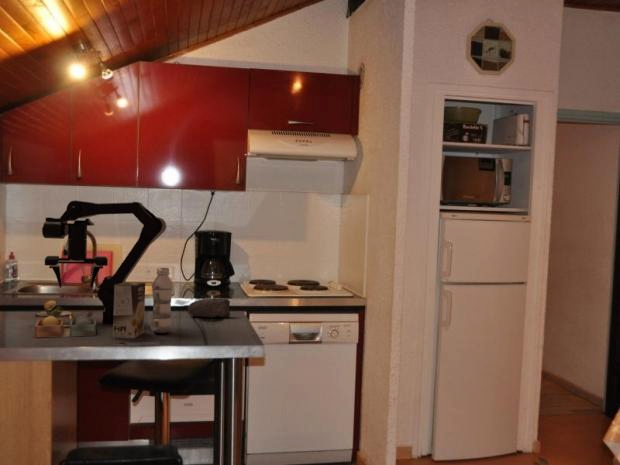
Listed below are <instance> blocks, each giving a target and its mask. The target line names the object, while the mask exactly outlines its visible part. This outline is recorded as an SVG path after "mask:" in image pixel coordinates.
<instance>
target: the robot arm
mask: <svg viewBox="0 0 620 465" xmlns="http://www.w3.org/2000/svg"><path fill="white" fill-rule="evenodd" d="M130 214H131V215H133V216H134V217H135V218H136V219H137V220H138V221H139V222H140V223H141V224H142V225H143V226H142V228H141V231H140V234H139V237H138V239H137V241H136V242H135V243H134V245H133V247H132V248H130V249H131V250H130V251H129V252H128V253H127V255H126V257H125V258H124V260H123V261H122V263H121V264H120V265H119V267H118V268H117V270H116V271H115V273H114V274H113V275H107V276H104V278H103V280H102V281H101V284H100V285H98V286H97V289H98V290H97V292H96V295H97V298H98V300H99V301H100V302H101V303H102V305H103V306H102V307H103V308H104V310H102V319H101V323H102V324H105V325H113V312H114V285H115V284H120V283H125V282H127V279H128V277H129V276H130V275H131V273H132V271H134V269H135V267H136V266H137V265H138V263H139V262H140V261H141V259H142V257H143V256H144V254H145V253H146V252H147V251H148V249H149V248H150V246H151V245H152V244H153V243H154V242H155V241H156V240H157V239H158V238H160V237H161V235H162V234H164V233H165V231H166V229H167V223H166V221H165V220H164V219H163V218H161V217H158V216H156V215H155V214H154V213H152V212H151V211H150V210H149V209H148V208H147V207H145V206H144V205H143V203H141V202H140V201H139V202H138V201H131V202H104V203H103V202H101V203H98V202H91V201H83V200H75V199H73V200H70V202H69V203H68V204H67V206H66V209H65V211H64V212H63V213H62V214H61V216H60V217H57V218H56V217H45V221H44V222H43V225H42V227H41V230H42V231H41V232H42V237H43V238H44V239H56V240H57V239H59V240H62V239H65V237H66V236H67V245H63V251H62V252H63V253H62V254H63V257H60V255H47V256H45V257H44V266H48V269H52V270H53V273H54V274H55V277H56V280H57V282H58V286H59V288H60V289H62V287H63V286H62V274H61V265H60V264H62V265H63V264H69V265H71V264H72V265H73V264H75V265H76V264H77V265H78V264H79V265H81V264H84V265H86V264H87V265H88V264H91V265H93V268H92V274H91V280H90V289H91V288H93V287H94V286H93V285H94V284H95V281H96V277H97V275H98V274H99V271H100V270H101V269H104V267H105V266H107V267H108V265H109V264H108V263H109V262H108V257H107V256H106V255H105V256H104V255H103V256H101V255H99V256H96V255H94V258H93V257H92V258H91V257H89V258H88V255H87V253H88V252H87V250H88V246H87V245H88V226H91V227H93V226H94V225H95V223H94V222H92V220H91V219H90V218H91V217H96V216H100V215H130ZM80 219H83V220H80ZM68 222H69V223H68ZM70 222H73V223H70Z"/></svg>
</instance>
